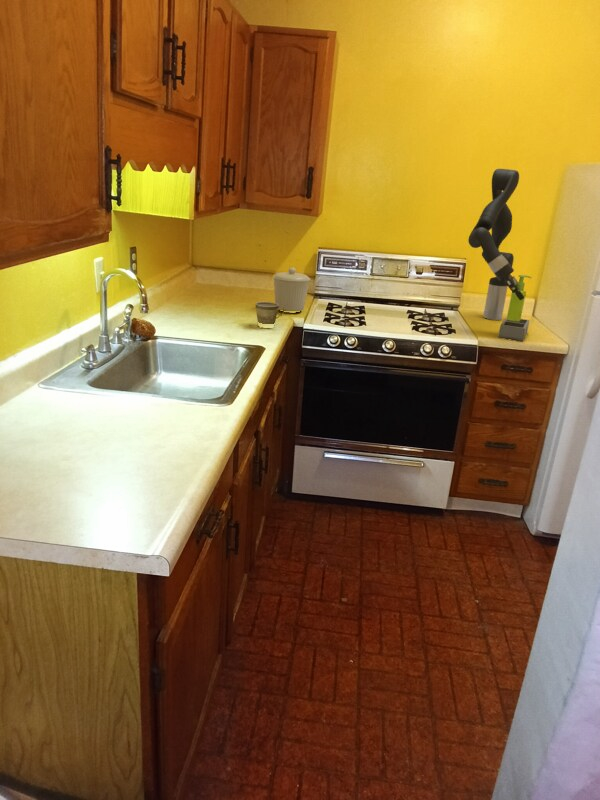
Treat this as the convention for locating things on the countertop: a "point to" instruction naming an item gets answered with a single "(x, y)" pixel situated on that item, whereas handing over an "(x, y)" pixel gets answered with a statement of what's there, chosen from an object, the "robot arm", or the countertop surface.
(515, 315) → the soap dispenser
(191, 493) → the countertop surface
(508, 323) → the caddy
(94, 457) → the countertop surface
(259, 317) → the ceramic cup
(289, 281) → the canister
